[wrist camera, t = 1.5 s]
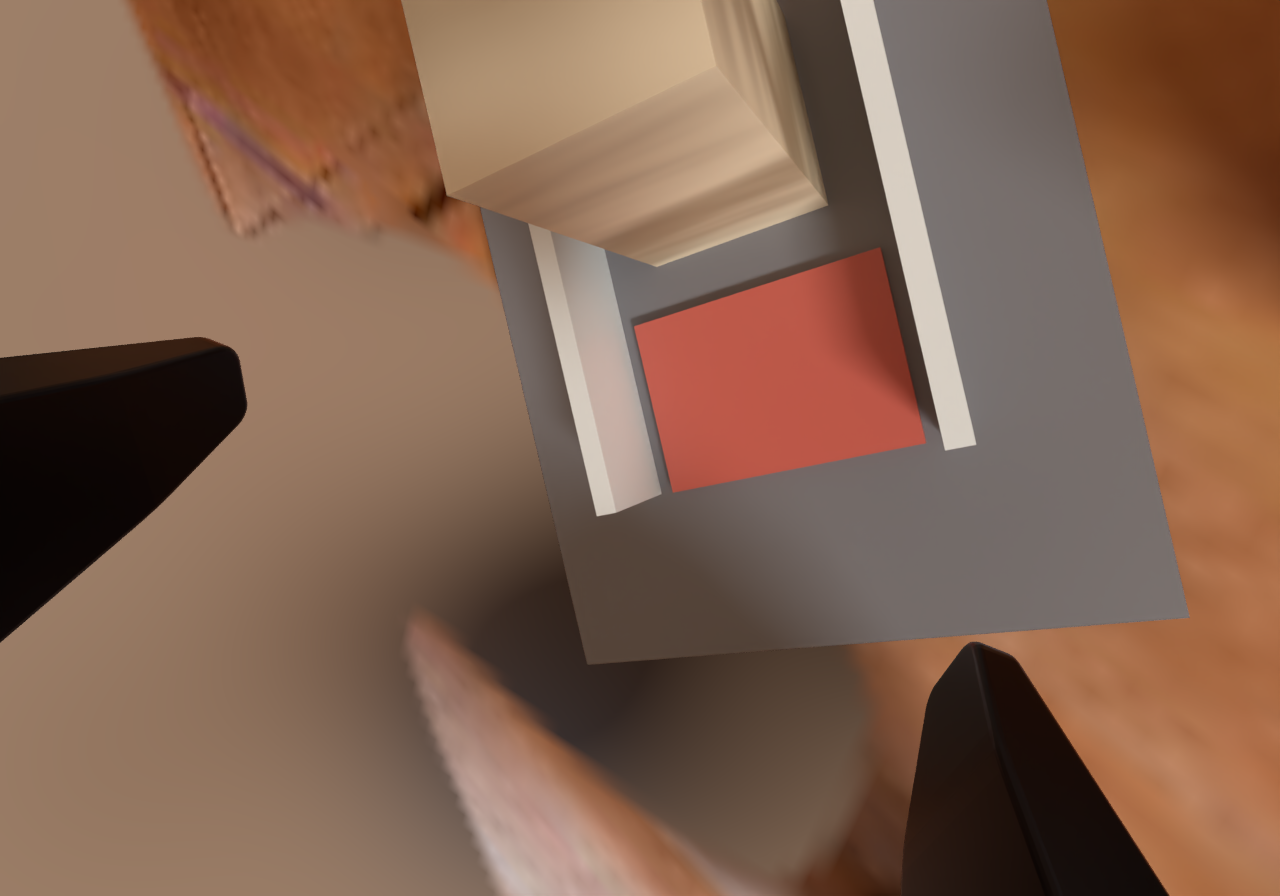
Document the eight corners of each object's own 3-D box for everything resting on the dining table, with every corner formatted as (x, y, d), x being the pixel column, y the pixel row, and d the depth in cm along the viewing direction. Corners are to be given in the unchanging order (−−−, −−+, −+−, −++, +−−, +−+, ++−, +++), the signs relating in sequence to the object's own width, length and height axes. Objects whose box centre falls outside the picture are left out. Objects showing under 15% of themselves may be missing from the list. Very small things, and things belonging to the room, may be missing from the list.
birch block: (828, 205, 18) (716, 65, 10) (656, 267, 20) (446, 195, 12) (784, 16, 18) (634, -283, 10) (617, 98, 20) (380, -89, 12)
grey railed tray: (1178, 606, 16) (1238, 670, 13) (598, 655, 23) (535, 705, 20) (928, -477, 16) (919, -709, 13) (422, -100, 23) (327, -182, 20)
